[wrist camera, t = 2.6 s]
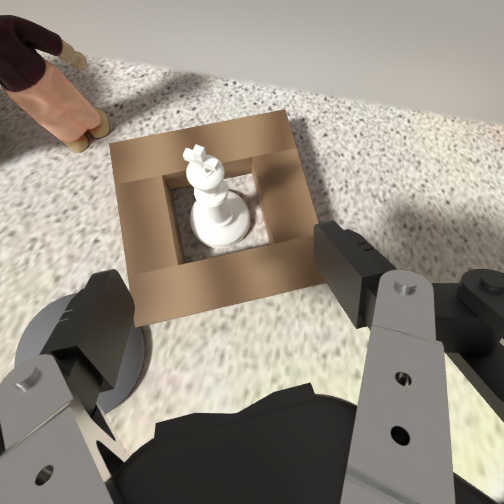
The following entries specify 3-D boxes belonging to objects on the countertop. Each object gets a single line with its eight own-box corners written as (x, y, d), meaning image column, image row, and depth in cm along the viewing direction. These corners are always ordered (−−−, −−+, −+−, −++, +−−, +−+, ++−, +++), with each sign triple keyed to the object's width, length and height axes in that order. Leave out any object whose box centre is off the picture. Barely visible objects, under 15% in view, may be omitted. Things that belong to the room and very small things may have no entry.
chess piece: (205, 183, 22) (172, 89, 13) (259, 204, 22) (268, 124, 12) (180, 235, 21) (124, 177, 12) (236, 257, 21) (226, 217, 11)
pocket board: (281, 129, 23) (285, 109, 21) (325, 283, 21) (335, 280, 18) (124, 160, 23) (109, 143, 20) (148, 324, 20) (135, 327, 18)
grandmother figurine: (100, 94, 24) (-61, -134, 11) (129, 120, 23) (-6, -90, 11) (32, 150, 23) (-230, -37, 10) (61, 178, 22) (-177, 18, 10)
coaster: (135, 281, 21) (132, 280, 20) (153, 403, 19) (150, 406, 18) (18, 307, 20) (11, 307, 19) (25, 435, 18) (18, 440, 18)
